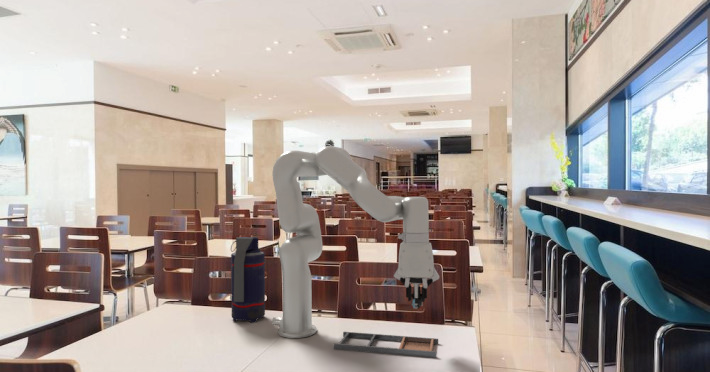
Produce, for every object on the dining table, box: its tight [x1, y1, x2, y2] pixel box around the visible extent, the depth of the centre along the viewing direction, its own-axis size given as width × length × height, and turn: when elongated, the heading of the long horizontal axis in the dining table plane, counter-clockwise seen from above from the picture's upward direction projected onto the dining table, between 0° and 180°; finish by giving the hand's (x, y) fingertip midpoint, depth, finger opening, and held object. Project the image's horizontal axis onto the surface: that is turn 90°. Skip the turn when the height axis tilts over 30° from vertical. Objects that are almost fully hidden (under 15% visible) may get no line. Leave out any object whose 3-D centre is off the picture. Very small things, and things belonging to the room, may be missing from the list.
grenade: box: [230, 236, 266, 324], centre depth 159 cm, size 14×12×30 cm
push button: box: [409, 278, 423, 310], centre depth 129 cm, size 7×5×10 cm
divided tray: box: [333, 331, 439, 359], centre depth 131 cm, size 30×11×2 cm, turn 76°
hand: (416, 299), depth 129 cm, fingers closed on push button, 3 cm apart
